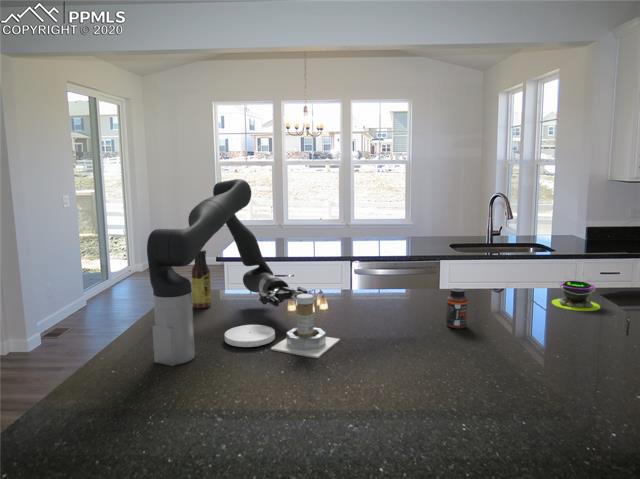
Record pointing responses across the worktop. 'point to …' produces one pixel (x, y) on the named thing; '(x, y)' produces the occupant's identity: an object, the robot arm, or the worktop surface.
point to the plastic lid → (249, 335)
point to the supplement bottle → (456, 309)
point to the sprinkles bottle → (305, 315)
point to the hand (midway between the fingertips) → (291, 301)
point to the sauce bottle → (201, 282)
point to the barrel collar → (306, 340)
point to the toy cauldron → (576, 296)
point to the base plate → (313, 353)
